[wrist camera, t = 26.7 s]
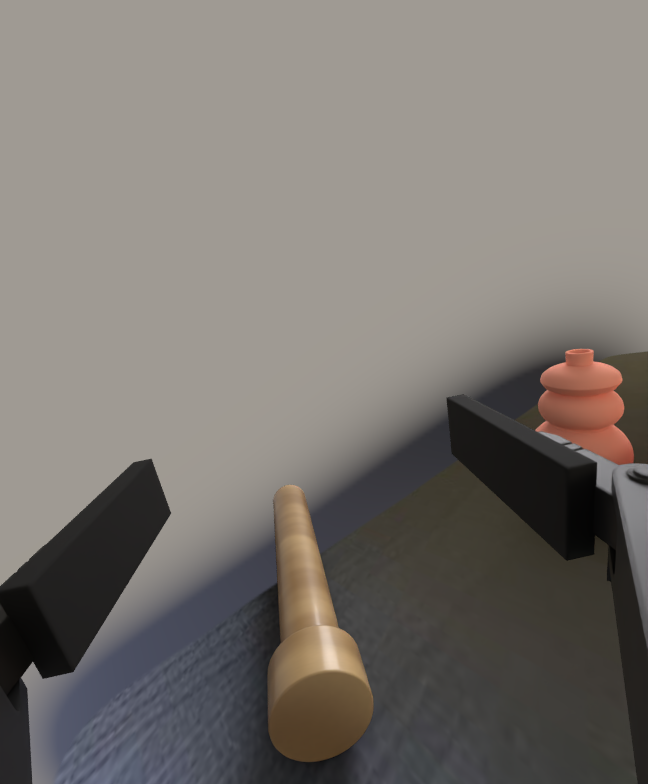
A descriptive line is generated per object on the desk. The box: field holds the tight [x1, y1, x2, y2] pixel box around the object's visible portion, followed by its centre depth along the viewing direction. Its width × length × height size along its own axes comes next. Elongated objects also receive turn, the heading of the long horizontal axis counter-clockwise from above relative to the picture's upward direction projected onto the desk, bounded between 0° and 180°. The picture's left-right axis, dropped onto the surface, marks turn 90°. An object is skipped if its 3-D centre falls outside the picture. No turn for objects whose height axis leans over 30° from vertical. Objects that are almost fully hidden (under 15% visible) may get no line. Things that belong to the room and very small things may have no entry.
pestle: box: [268, 485, 373, 762], centre depth 20 cm, size 4×4×17 cm
